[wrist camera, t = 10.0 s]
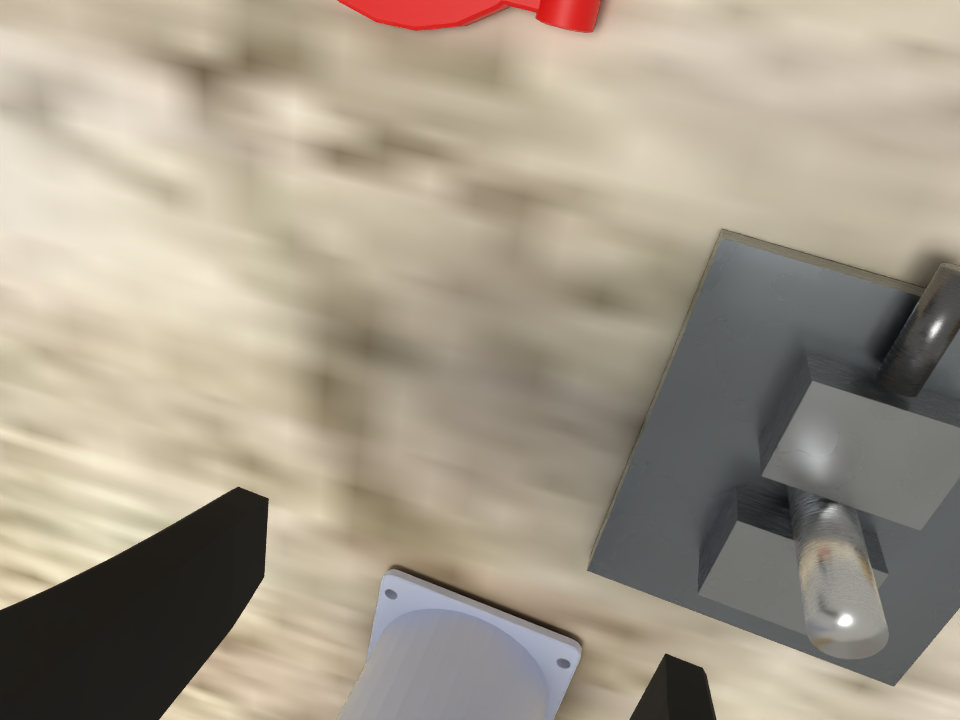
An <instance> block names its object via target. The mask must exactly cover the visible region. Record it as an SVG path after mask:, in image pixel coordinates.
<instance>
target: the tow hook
mask: <svg viewBox="0 0 960 720" xmlns="http://www.w3.org/2000/svg"><path fill="white" fill-rule="evenodd" d="M338 1H339V2H340V3H342V4H344V5H346V6H348V7H350V8H351V9H353V10H355V11H357V12H359V13H360V14H362V15H364V16H366V17H368V18H369V19H371V20H373V21H375V22H378V23H383V24H387V25H392V26H397V27H402V28H406V29H411V30H416V31H417V30H430V29H439V28H449V27H458V26H467V25H469V24H471V23H474V22H476V21H478V20H481V19H483V18H485V17H488V16H490V15H492V14H494V13H497V12H499V11H501V10H504V9H506V8H507V7H509V6H512V7H516V8H520V9H524V10H528V11H532V12H536V19H537V20H539V21H540V22H542V23H545V24H548V25H551V26H555V27H559V28H563V29H567V30H572V31H577V32H584V33H589V32H593V30H594V26H595V22H596V18H597V15H598V11H599V7H600V3H601V0H338Z"/></svg>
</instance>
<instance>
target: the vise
mask: <svg viewBox="0 0 960 720" xmlns="http://www.w3.org/2000/svg"><path fill="white" fill-rule="evenodd" d="M587 571H590V572H592V573H595V574H598V575H600V576H603V577H606V578H608V579H611V580H614V581H616V582H619V583H622V584H624V585H627V586H629V587H632V588H635V589H637V590H640V591H643V592H645V593H648V594H651V595H653V596H656V597H659V598H661V599H664V600H666V601H669V602H672V603H674V604H677V605H680V606H682V607H685V608H688V609H690V610H693V611H696V612H698V613H701V614H703V615H706V616H709V617H711V618H714V619H717V620H719V621H722V622H725V623H727V624H730V625H733V626H735V627H738V628H740V629H743V630H746V631H748V632H751V633H754V634H756V635H759V636H762V637H764V638H767V639H770V640H772V641H775V642H777V643H780V644H783V645H785V646H788V647H791V648H793V649H796V650H799V651H801V652H804V653H807V654H809V655H812V656H814V657H817V658H820V659H822V660H825V661H828V662H830V663H833V664H836V665H838V666H841V667H844V668H846V669H849V670H852V671H854V672H857V673H859V674H862V675H865V676H867V677H870V678H873V679H875V680H878V681H881V682H883V683H886V684H889V685H891V686H895V685H896V684H897V682H898V681H899V680H900V679H901V678H902V676H903V675H904V674H905V673H906V672H907V670H908V669H909V668H910V667H911V666H912V664H913V663H914V662H915V661H916V660H917V659H918V657H919V656H920V655H921V654H922V653H923V651H924V650H925V649H926V648H927V647H928V645H929V644H930V643H931V642H932V641H933V639H934V638H935V637H936V636H937V635H938V633H939V632H940V631H941V630H942V629H943V627H944V626H945V625H946V624H947V623H948V621H949V620H950V619H951V618H952V617H953V615H954V614H955V613H956V612H957V611H958V609H959V608H960V266H958V265H954V264H950V263H941V264H940V266H939V267H938V269H937V271H936V273H935V274H934V276H933V278H932V279H931V281H930V283H929V284H928V286H927V288H923V287H919V286H916V285H913V284H909V283H906V282H902V281H899V280H895V279H892V278H888V277H885V276H882V275H878V274H875V273H871V272H868V271H864V270H861V269H858V268H854V267H851V266H847V265H844V264H840V263H837V262H834V261H830V260H827V259H823V258H820V257H816V256H813V255H810V254H806V253H803V252H799V251H796V250H792V249H789V248H785V247H782V246H779V245H775V244H772V243H768V242H765V241H761V240H758V239H755V238H751V237H748V236H744V235H741V234H737V233H734V232H731V231H727V230H724V229H722V230H721V232H720V235H719V237H718V240H717V242H716V245H715V247H714V250H713V252H712V255H711V257H710V260H709V262H708V265H707V267H706V270H705V272H704V275H703V277H702V280H701V282H700V285H699V287H698V289H697V292H696V294H695V297H694V299H693V302H692V304H691V307H690V309H689V312H688V314H687V317H686V319H685V322H684V324H683V327H682V329H681V332H680V334H679V337H678V339H677V342H676V344H675V347H674V349H673V351H672V354H671V356H670V359H669V361H668V364H667V366H666V369H665V371H664V374H663V376H662V379H661V381H660V384H659V386H658V389H657V391H656V394H655V396H654V399H653V401H652V404H651V406H650V409H649V411H648V414H647V416H646V418H645V421H644V423H643V426H642V428H641V431H640V433H639V436H638V438H637V441H636V443H635V446H634V448H633V451H632V453H631V456H630V458H629V461H628V463H627V466H626V468H625V471H624V473H623V476H622V478H621V480H620V483H619V485H618V488H617V490H616V493H615V495H614V498H613V500H612V503H611V505H610V508H609V510H608V513H607V515H606V518H605V520H604V523H603V525H602V528H601V530H600V533H599V535H598V538H597V540H596V543H595V545H594V547H593V550H592V552H591V555H590V560H589V564H588V569H587Z"/></svg>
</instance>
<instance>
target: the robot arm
mask: <svg viewBox="0 0 960 720" xmlns="http://www.w3.org/2000/svg"><path fill="white" fill-rule="evenodd" d="M268 501H269V499H268V498H266V497H263V496H261V495H258V494H255V493H253V492H250V491H248V490H245V489H243V488H240V487H237V488H235V489H233V490H231V491H229V492H227V493H226V494H224V495H222V496H220V497H219V498H217V499H215V500H214V501H212V502H210V503H208V504H207V505H205V506H203V507H202V508H200V509H198V510H197V511H195V512H193V513H191V514H190V515H188V516H186V517H184V518H183V519H181V520H179V521H178V522H176V523H174V524H172V525H171V526H169V527H167V528H165V529H164V530H162V531H160V532H158V533H156V534H155V535H153V536H151V537H149V538H147V539H145V540H144V541H142V542H140V543H138V544H136V545H134V546H133V547H131V548H129V549H127V550H125V551H123V552H122V553H120V554H118V555H116V556H114V557H112V558H110V559H108V560H106V561H104V562H102V563H100V564H98V565H96V566H94V567H92V568H90V569H88V570H86V571H84V572H82V573H80V574H78V575H76V576H74V577H72V578H70V579H68V580H66V581H64V582H62V583H60V584H58V585H56V586H54V587H52V588H50V589H47V590H45V591H43V592H41V593H39V594H36V595H34V596H32V597H30V598H27V599H25V600H23V601H21V602H18V603H16V604H14V605H11V606H9V607H7V608H4V609H2V610H0V720H159V719H160V718H161V717H162V715H163V714H164V713H165V712H166V710H167V709H168V708H169V707H170V705H171V704H172V703H173V702H174V700H175V699H176V698H177V697H178V695H179V694H180V693H181V692H182V690H183V689H184V688H185V687H186V685H187V684H188V683H189V682H190V680H191V679H192V678H193V677H194V675H195V674H196V673H197V672H198V670H199V669H200V668H201V667H202V666H203V664H204V663H205V662H206V660H207V659H208V658H209V657H210V655H211V654H212V653H213V652H214V650H215V649H216V648H217V647H218V645H219V644H220V643H221V642H222V640H223V639H224V638H225V636H226V635H227V634H228V633H229V631H230V630H231V629H232V627H233V626H234V624H235V623H236V621H237V620H238V618H239V617H240V615H241V613H242V612H243V610H244V609H245V607H246V606H247V604H248V603H249V601H250V599H251V598H252V596H253V594H254V593H255V591H256V589H257V588H258V586H259V585H260V583H261V581H262V580H263V578H264V572H265V554H266V537H267V519H268ZM394 591H395V592H394ZM581 653H582V648H581V645H580V644H579V643H578V642H577V641H575V640H573V639H571V638H569V637H566V636H564V635H561V634H558V633H556V632H553V631H551V630H548V629H546V628H543V627H541V626H538V625H536V624H533V623H531V622H528V621H526V620H523V619H520V618H518V617H515V616H513V615H510V614H508V613H505V612H503V611H500V610H498V609H495V608H493V607H490V606H488V605H485V604H483V603H480V602H477V601H475V600H472V599H470V598H467V597H465V596H462V595H460V594H457V593H455V592H452V591H450V590H447V589H445V588H442V587H440V586H437V585H434V584H432V583H429V582H427V581H424V580H422V579H419V578H417V577H414V576H412V575H409V574H407V573H404V572H402V571H399V570H395V569H390V570H388V571H386V573H385V574H384V576H383V578H382V580H381V585H380V590H379V596H378V601H377V606H376V611H375V617H374V622H373V627H372V633H371V638H370V643H369V648H368V654H367V659H366V664H365V667H364V669H363V670H362V672H361V674H360V676H359V678H358V680H357V682H356V684H355V686H354V688H353V689H352V691H351V693H350V695H349V697H348V699H347V701H346V703H345V705H344V707H343V708H342V710H341V712H340V714H339V716H338V718H337V720H554V718H555V715H556V713H557V711H558V709H559V706H560V704H561V702H562V700H563V697H564V695H565V693H566V690H567V688H568V686H569V684H570V681H571V679H572V677H573V675H574V672H575V670H576V668H577V665H578V663H579V661H580V658H581ZM562 658H563V659H562ZM564 659H566V660H564ZM630 720H716V716H715V711H714V707H713V703H712V698H711V694H710V689H709V685H708V680H707V675H706V673H705V671H704V670H703V668H701V667H699V666H696V665H694V664H691V663H689V662H686V661H683V660H681V659H678V658H676V657H673V656H671V655H668V654H665V655H664V657H663V659H662V661H661V662H660V664H659V666H658V668H657V670H656V672H655V674H654V675H653V677H652V679H651V681H650V683H649V685H648V686H647V688H646V690H645V692H644V694H643V696H642V698H641V699H640V701H639V703H638V705H637V707H636V709H635V710H634V712H633V714H632V716H631V718H630Z"/></svg>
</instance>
